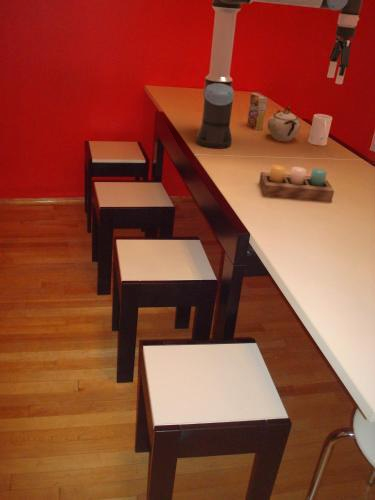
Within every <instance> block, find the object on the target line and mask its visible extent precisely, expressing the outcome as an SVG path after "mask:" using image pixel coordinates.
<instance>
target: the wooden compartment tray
mask: <svg viewBox="0 0 375 500" xmlns="http://www.w3.org/2000/svg"><path fill="white" fill-rule="evenodd" d="M290 175H291V174H288V173H285V174H284V179H283V183H274V182H269V176H270V172H264V171H262V172H260V176H259V181H258V184H259V187H260V190H261V194H262V196H263V197H268V198H279V199H280V198H281V199H290V200H291V199H292V200H304V201H315V202H327V203H328V202H329V203H332V202H333V198H334V193H335V189H334V188H333V186H332V185H331V184H330V182H329V181H328V179H327V178H325V182H324V186H323V187H321V186H311V185H310V184H309V183H310V178H311V175H309V176H308V175H305V178H304V183H303V185H297V184H290V183H289V180H290Z"/></svg>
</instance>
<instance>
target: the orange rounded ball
mask: <svg viewBox="0 0 375 500" xmlns="http://www.w3.org/2000/svg"><path fill="white" fill-rule="evenodd" d="M285 172H286V167H285V166H283V165H279V164H273V165H271V167H270V171H269V173H270V176H269V182H274V183H283V179H284V174H286V173H285Z"/></svg>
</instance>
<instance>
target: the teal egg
mask: <svg viewBox="0 0 375 500" xmlns="http://www.w3.org/2000/svg"><path fill="white" fill-rule="evenodd" d="M327 173H328V171H327V170H325V169H322V168H312V170H311V174H310V176H311V178H310V183H309V184H310V185H311V186H321V187H323V186H324V182H325V178H326V177H327ZM326 179H327V178H326Z"/></svg>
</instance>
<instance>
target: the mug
mask: <svg viewBox="0 0 375 500" xmlns="http://www.w3.org/2000/svg"><path fill="white" fill-rule="evenodd" d="M332 121H333V116H330V115H329V114H322V113H315V114H313V117H312V123H311V127H310V133H309V136H308V139H307V142H308V143H309V144H311V145H313V146H323V147H324V146H326V145H327V144H328V138H329V133H330V130H331V124H332Z"/></svg>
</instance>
